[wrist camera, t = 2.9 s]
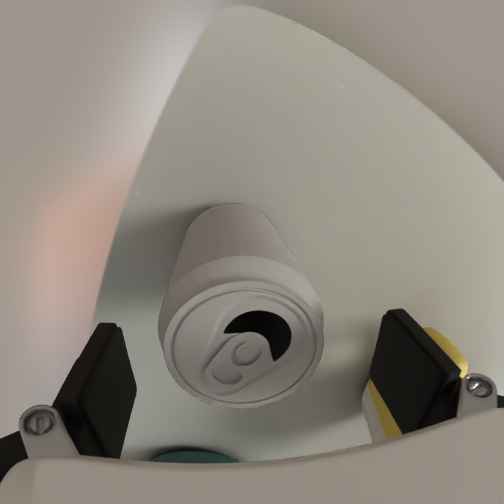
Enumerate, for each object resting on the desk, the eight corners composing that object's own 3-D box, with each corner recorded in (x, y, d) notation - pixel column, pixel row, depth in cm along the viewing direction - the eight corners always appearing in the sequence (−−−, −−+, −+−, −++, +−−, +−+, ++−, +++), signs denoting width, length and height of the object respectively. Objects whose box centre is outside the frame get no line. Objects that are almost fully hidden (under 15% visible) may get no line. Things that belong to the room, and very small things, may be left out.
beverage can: (295, 237, 22) (369, 331, 11) (238, 305, 23) (259, 433, 12) (221, 181, 20) (225, 228, 9) (165, 256, 21) (122, 369, 10)
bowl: (157, 491, 32) (155, 526, 26) (133, 441, 28) (125, 485, 22) (251, 491, 33) (256, 527, 27) (251, 442, 29) (257, 487, 23)
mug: (407, 408, 30) (447, 470, 21) (332, 417, 29) (364, 496, 19) (457, 307, 26) (523, 364, 16) (377, 304, 25) (446, 382, 15)
